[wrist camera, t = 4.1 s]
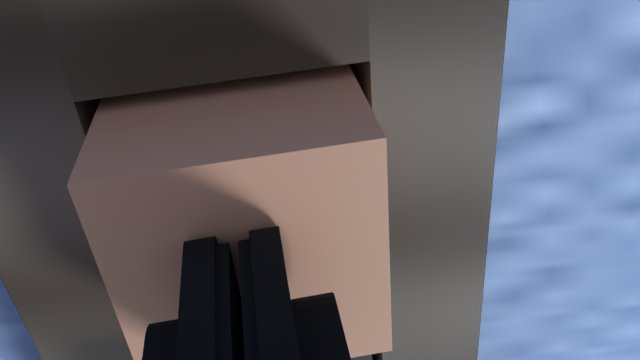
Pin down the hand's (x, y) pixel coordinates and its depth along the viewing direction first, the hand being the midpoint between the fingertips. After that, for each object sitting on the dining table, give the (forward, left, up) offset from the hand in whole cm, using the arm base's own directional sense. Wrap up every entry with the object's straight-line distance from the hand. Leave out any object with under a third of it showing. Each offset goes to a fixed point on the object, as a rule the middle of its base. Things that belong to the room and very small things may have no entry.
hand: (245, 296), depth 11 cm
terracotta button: (0, 0, -5) cm, 5 cm away
